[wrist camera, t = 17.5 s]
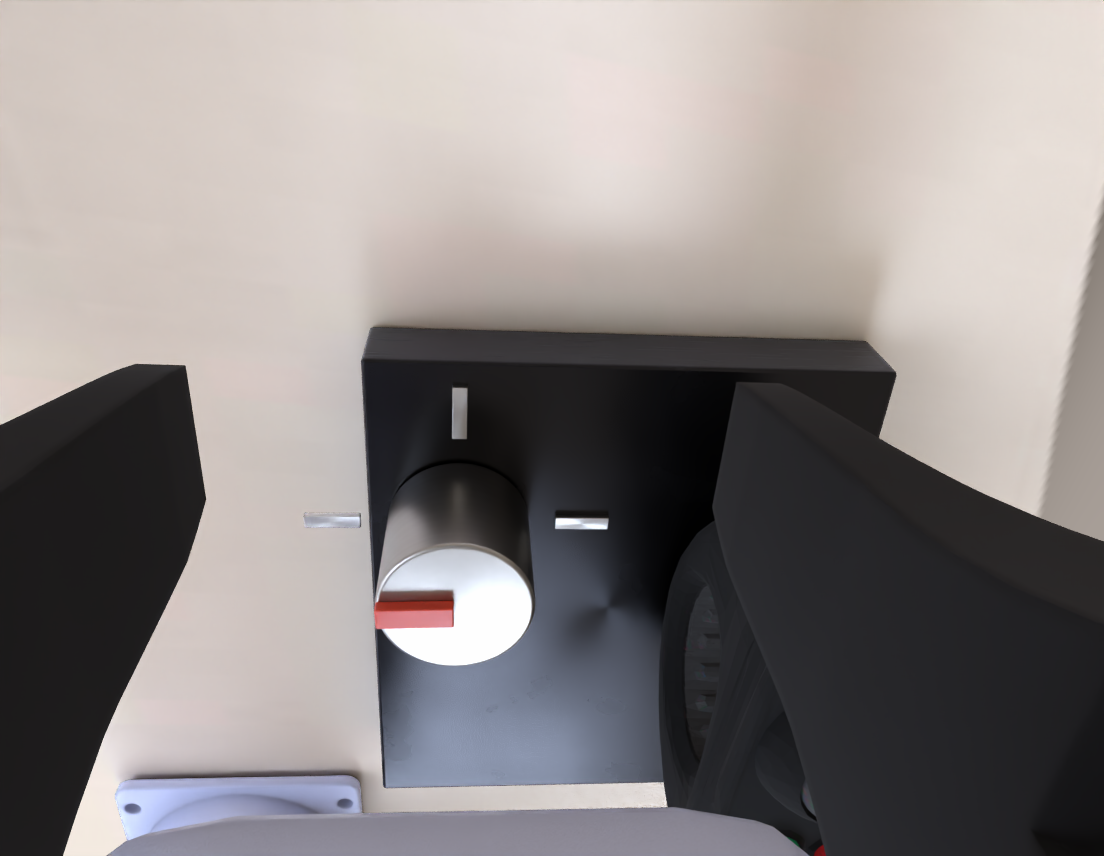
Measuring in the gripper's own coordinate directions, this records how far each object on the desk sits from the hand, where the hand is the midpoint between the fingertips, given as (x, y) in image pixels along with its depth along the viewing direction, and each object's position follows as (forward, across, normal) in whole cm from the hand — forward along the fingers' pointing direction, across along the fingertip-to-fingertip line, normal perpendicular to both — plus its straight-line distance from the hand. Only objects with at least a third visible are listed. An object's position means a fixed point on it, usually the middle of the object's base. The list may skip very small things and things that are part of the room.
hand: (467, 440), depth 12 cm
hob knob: (+8, 0, +7) cm, 11 cm away
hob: (+10, -4, +10) cm, 15 cm away
